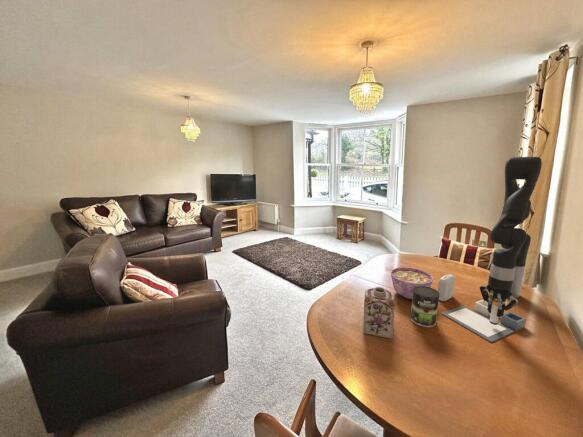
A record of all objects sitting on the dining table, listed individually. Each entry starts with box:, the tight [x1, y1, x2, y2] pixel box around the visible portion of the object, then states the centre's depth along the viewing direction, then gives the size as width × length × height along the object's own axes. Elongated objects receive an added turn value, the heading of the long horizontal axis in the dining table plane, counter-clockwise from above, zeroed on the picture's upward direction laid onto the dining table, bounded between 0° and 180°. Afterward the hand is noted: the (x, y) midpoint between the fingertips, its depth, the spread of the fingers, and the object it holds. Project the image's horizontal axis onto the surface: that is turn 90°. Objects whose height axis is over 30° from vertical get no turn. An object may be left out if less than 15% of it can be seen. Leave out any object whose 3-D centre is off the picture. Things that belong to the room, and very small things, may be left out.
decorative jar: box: [362, 286, 396, 339], centre depth 106 cm, size 12×12×18 cm
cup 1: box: [473, 299, 491, 318], centre depth 117 cm, size 6×6×4 cm
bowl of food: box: [390, 266, 434, 300], centre depth 132 cm, size 20×20×12 cm
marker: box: [489, 299, 500, 325], centre depth 104 cm, size 3×3×10 cm
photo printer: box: [437, 273, 456, 302], centre depth 129 cm, size 10×4×12 cm, turn 123°
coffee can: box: [410, 286, 440, 328], centre depth 111 cm, size 10×10×14 cm
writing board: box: [441, 305, 515, 343], centre depth 110 cm, size 15×21×1 cm
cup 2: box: [499, 311, 527, 332], centre depth 107 cm, size 6×6×4 cm
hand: (494, 314), depth 105 cm, fingers closed on marker, 2 cm apart
